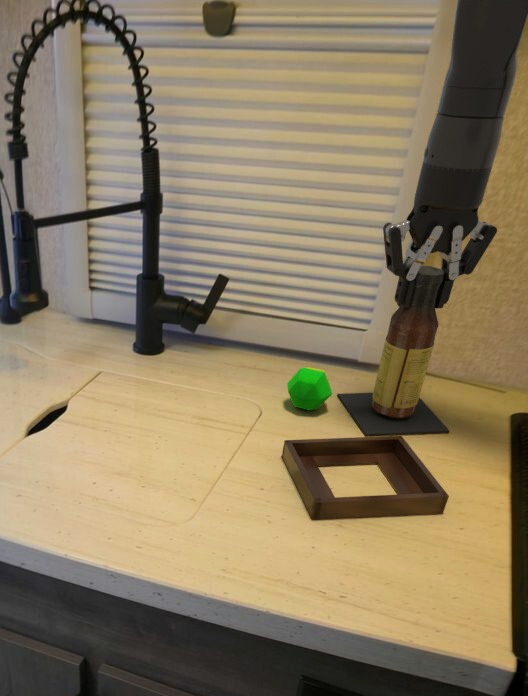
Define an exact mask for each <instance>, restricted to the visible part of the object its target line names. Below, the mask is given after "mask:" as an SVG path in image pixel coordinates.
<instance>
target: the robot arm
mask: <svg viewBox="0 0 528 696" xmlns="http://www.w3.org/2000/svg"><path fill="white" fill-rule="evenodd" d="M527 20H528V0H457V5H456V10H455V17H454V26H453V33H452V41H451V50H450V60H449V64H448V68H447V71H446V75H445V77H444V81H443V85H442V89H441V94H440V98H439V102H438V107H437V110H436V112H437V113H436V114H435V118H434V121H433V124H432V127H431V129H430V132H429V135H428V139H427V143H426V147H425V149H424V152H423V160H422V164H421V169H420V172H419V177H418V181H417V185H416V189H415V194H414V198H413V206H412V209H411V211H410V213H409V214H408V216H407V217H406V219H405V220H402V221H400V222H396V223H391V222H387V223H384V224H383V227H382V233H383V241H384V242H383V244H384V253H385V262H386V263H385V265H386V269H387V271H389V272H390V273H392V274H393V275H394V276H396V277H398V281H397V285H396V288H395V293H394V301H395V302H396V305H397V307H398V308H399V307H400V308H401V309H408V308H409V305H410V301H411V298H412V294H413V290H414V286H415V282H416V281H415V280H414V279H415V277H416V275H417V273H418V271H419V269H420V267H421V266H423V265H424V264H425V263H426V262H427V261H428V258H429V256H430V254H434V253H437V252H438V256H439V257H440V269H441V270H443V271H444V276H443V281H442V283H441V284H440V286H439V290H438V293H437V296H436V300H435V301H436V303H435V310H436V309H443V308H444V306H445V305H447V303H448V302H449V300H450V297H451V293H452V290H453V287H454V283H455V281H456V280H457V279H458V277H460V276H464V275H466V276H469V275H471V274H472V273H473V272H474V270H475V269H476V267H477V265H478V264H479V262H480V260H481V259H482V257H483V255H484V254H485V253H486V251H487V250H488V247H489V246H490V244H491V243H492V241H493V239H494V238H495V236H496V234H497V233H498V228H497V227H496V226H495V225H493V224H491V223H489V222H486V221H481V220H480V219H479V207H480V206H481V205H482V203H483V200H484V197H485V193H486V190H487V186H488V182H489V179H490V176H491V173H492V169H493V166H494V162H495V159H496V156H497V152H498V149H499V145H500V141H501V136H502V130H503V126H504V125H503V124H504V119H505V115H506V113H507V109H508V106H509V102H510V98H511V95H512V92H513V88H514V85H515V81H516V76H517V72H518V66H519V64H518V63H519V60H518V50H519V48H520V47H519V46H520V44H521V41H522V37H523V34H524V31H525V27H526V24H527ZM407 233H409V235H410V237H411V240H410V242H409V244H408V247H407V248H406V250H405V256H404V258H403V244H402V242H403V241H405V239H406V235H407ZM469 235H470V238H469V240H468V242H467V243H466V245H465V247H464V249H463V247H462V245H463V241H464V240H466V239H467V237H468V236H469ZM462 249H463V250H462Z"/></svg>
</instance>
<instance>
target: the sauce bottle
mask: <svg viewBox="0 0 528 696" xmlns="http://www.w3.org/2000/svg"><path fill="white" fill-rule="evenodd" d="M443 276H444V271H443V270H441V268H439V267H435V266H432V265H421V267H420V269H419V271H418V273H417V275H416V277H415V279H414V280H415V281H416V282H415V286H414V290H413V294H412V298H411V301H410V305H409V308H408V309H401V308H400V307H399V306H398V308H397V309H396V310H395V312H394V313H392V315H391V317H390V320H389V321H390V322H389V327H388V331H387V334H386V337H385V340H384V345H383V349H382V353H381V358H380V361H379V362H380V363H379V365H378V371H377V375H376V378H375V383H374V387H373V390H372V393H373V395H372V407H373V408H374V410H375V411H376V412H377V413H379V414H382V415H385V416H387V417H390V418H406V417H409V416H411V415H412V414H413V413H414V411H415V408H416V405H417V403H418V400H419V397H420V398H421V392H422V389H423V385H424V381H425V378H426V375H427V371H428V368H429V363H430V360H431V357H432V353H433V349H434V346H435V339H436V334H437V331H438V328H439V321H438V320H439V319H438V316H437V310H436V308H435V303H436V301H435V300H436V296H437V293H438V290H439V286H440V284H441V283H442V281H443Z"/></svg>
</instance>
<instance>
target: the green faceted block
mask: <svg viewBox="0 0 528 696" xmlns="http://www.w3.org/2000/svg"><path fill="white" fill-rule="evenodd" d="M286 384H287V385H286V386H287V392H288V395H289V397H290V400H291V402H292V405H293V407H295V408H299V409H303V410H307V411H314V410H318V409H319V408H320V407H321V406H322V405H323V404H324V403H325V402H326V401H327V400H328V399H329V398H330V397H332V395H333V391H332V386H331V384H330V381H329V378H328V375H327V374H326V371H325V370H323V369H318V368H314V367H310V366H306V367H304V366H303V367H300V368H299V369H298V370H297V372H296V373H295V374H294V375H293V376H292V377H291V378H290V380H288V381H287V383H286Z"/></svg>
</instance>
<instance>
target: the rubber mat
mask: <svg viewBox="0 0 528 696" xmlns="http://www.w3.org/2000/svg"><path fill="white" fill-rule="evenodd" d="M372 395H373V392H351V393H350V392H348V393H337V395H336V396H337V398H338V400H339V401H340V402H341V404H342V405H343V407H344V408H345V410H346V411H347V413H348V414H349V415H350V416H351V419H352V420H353V421H354V422H355V424H356V426H358V428H359V429H360V431H361V432H362V434H363V435H364V437H380V436H408V435H409V436H410V435H432V434H450V431H451V430H450V429H449V428H448V427H447V426H446V425H445V424H444V423H443V421H442V420H441V419H440V418H439V417H438V415H436V414H435V413H434V411H433V410H432V409H431V408H430V407H429V406H428V405H427V404H426V403H425V402H424V400H422V398H421V396H420V397H419V400H418V403H417V405H416V408H415V411H414V413H413V414H412V415H411V416H409V417H406V418H390V417H387V416H385V415H382V414H379V413H377V412H376V411H375V410H374V408H373V407H372Z"/></svg>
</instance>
